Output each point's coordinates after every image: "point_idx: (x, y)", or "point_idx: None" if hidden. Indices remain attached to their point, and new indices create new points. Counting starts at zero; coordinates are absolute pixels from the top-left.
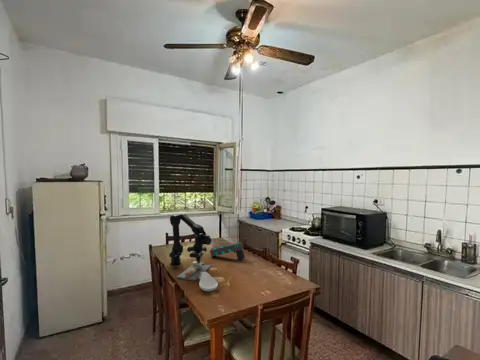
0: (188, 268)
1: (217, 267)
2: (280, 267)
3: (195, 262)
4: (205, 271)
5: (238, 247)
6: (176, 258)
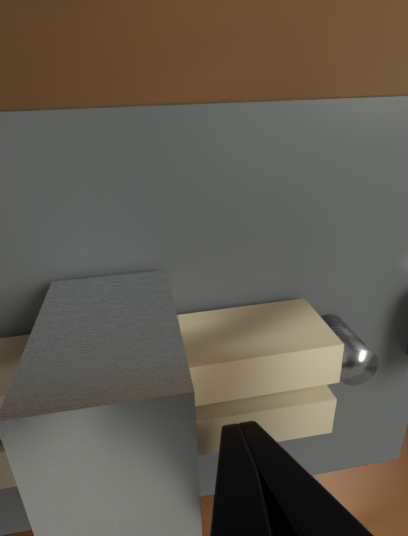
0: (53, 131)
1: (372, 511)
2: None
3: (82, 498)
4: None
5: None
6: None
